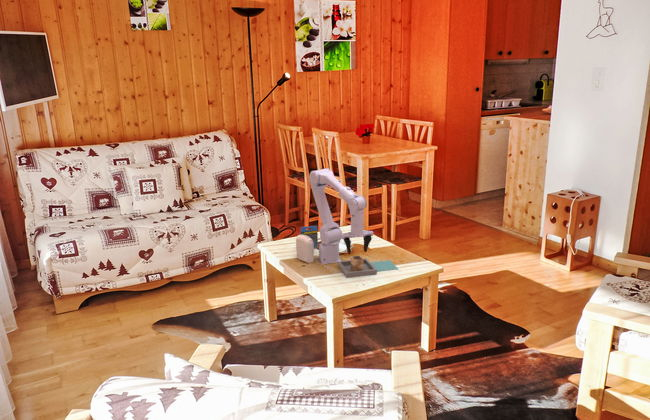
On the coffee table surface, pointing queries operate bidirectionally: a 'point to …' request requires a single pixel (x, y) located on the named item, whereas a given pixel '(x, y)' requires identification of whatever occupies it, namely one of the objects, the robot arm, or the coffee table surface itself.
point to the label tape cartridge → (310, 234)
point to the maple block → (356, 263)
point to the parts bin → (347, 271)
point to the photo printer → (305, 248)
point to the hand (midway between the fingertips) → (357, 252)
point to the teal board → (384, 265)
